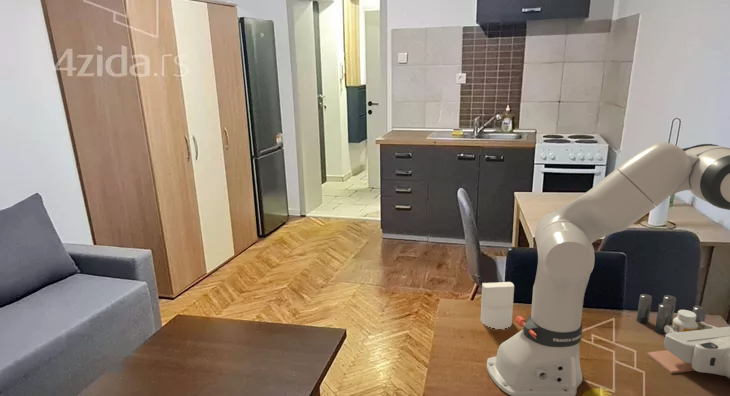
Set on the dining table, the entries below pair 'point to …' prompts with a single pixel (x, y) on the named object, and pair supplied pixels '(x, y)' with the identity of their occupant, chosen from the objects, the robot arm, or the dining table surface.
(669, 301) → the posts
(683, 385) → the dining table surface
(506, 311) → the cylinder with rectangular tab
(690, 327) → the supplement bottle
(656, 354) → the terracotta tile
